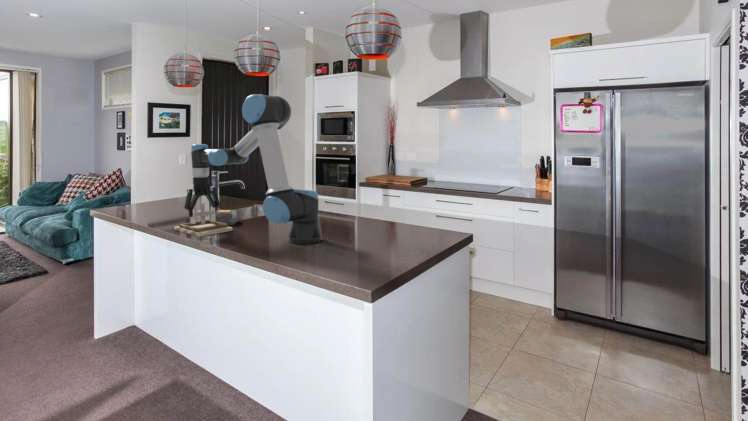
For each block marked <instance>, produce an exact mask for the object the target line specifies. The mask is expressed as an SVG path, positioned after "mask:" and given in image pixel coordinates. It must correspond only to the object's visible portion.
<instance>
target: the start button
mask: <svg viewBox="0 0 748 421" xmlns="http://www.w3.org/2000/svg"><path fill="white" fill-rule="evenodd" d="M219 210H220V211H218V212H217V213H230V212H232V210H233V209H219Z"/></svg>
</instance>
